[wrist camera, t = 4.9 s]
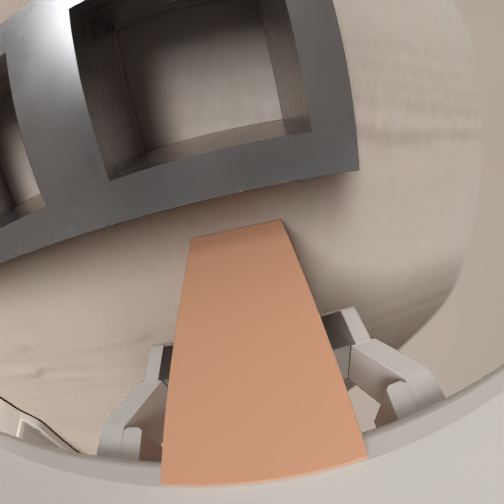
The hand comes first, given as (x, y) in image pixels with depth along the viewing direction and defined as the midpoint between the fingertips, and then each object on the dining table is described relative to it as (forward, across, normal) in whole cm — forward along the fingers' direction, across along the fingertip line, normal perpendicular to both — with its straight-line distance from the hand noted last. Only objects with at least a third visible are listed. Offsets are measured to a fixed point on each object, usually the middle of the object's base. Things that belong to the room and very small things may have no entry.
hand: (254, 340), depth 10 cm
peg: (+5, 0, 0) cm, 5 cm away
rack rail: (+5, -8, +9) cm, 13 cm away
